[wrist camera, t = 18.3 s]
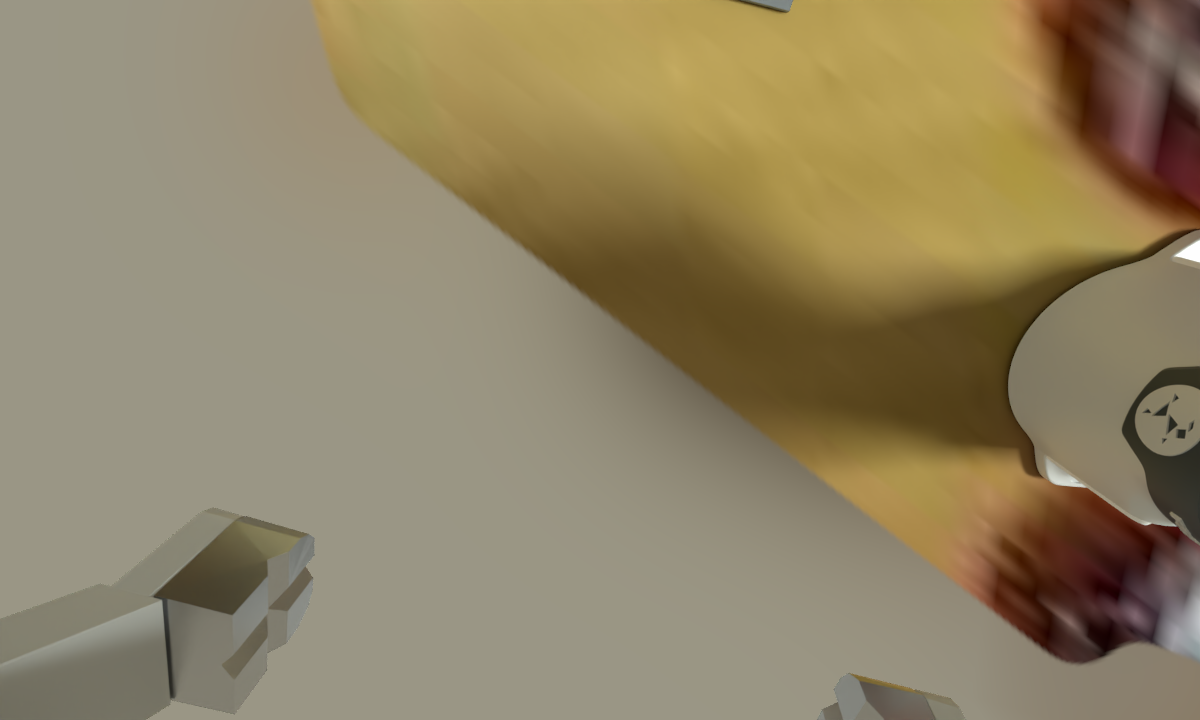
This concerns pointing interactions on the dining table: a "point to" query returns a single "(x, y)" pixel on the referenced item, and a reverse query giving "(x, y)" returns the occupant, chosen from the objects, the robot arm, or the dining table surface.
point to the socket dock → (773, 4)
